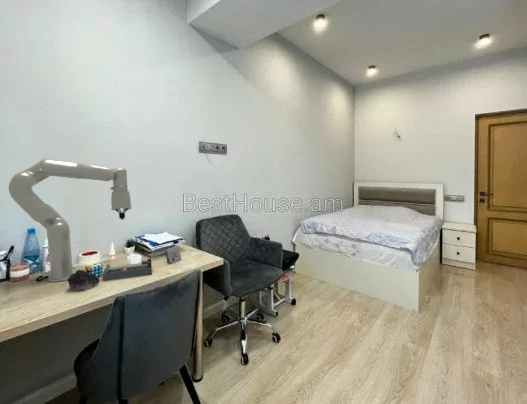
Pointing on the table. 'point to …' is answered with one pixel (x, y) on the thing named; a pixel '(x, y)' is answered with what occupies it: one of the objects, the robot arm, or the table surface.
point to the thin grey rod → (129, 265)
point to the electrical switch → (173, 255)
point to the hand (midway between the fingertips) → (122, 219)
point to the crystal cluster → (82, 280)
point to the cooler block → (127, 272)
